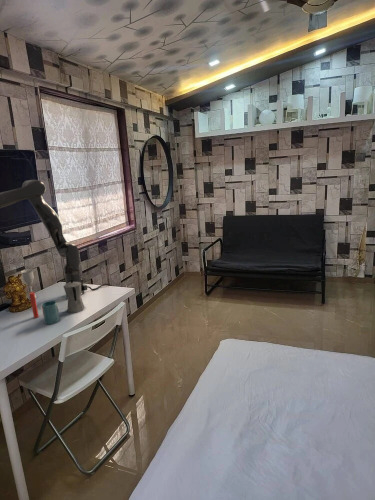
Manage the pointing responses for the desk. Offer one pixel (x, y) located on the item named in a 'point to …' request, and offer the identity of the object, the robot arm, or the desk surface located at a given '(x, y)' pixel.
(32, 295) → the red cylindrical rod
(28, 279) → the chalice
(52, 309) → the cup
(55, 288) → the desk surface
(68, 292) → the coffeepot
